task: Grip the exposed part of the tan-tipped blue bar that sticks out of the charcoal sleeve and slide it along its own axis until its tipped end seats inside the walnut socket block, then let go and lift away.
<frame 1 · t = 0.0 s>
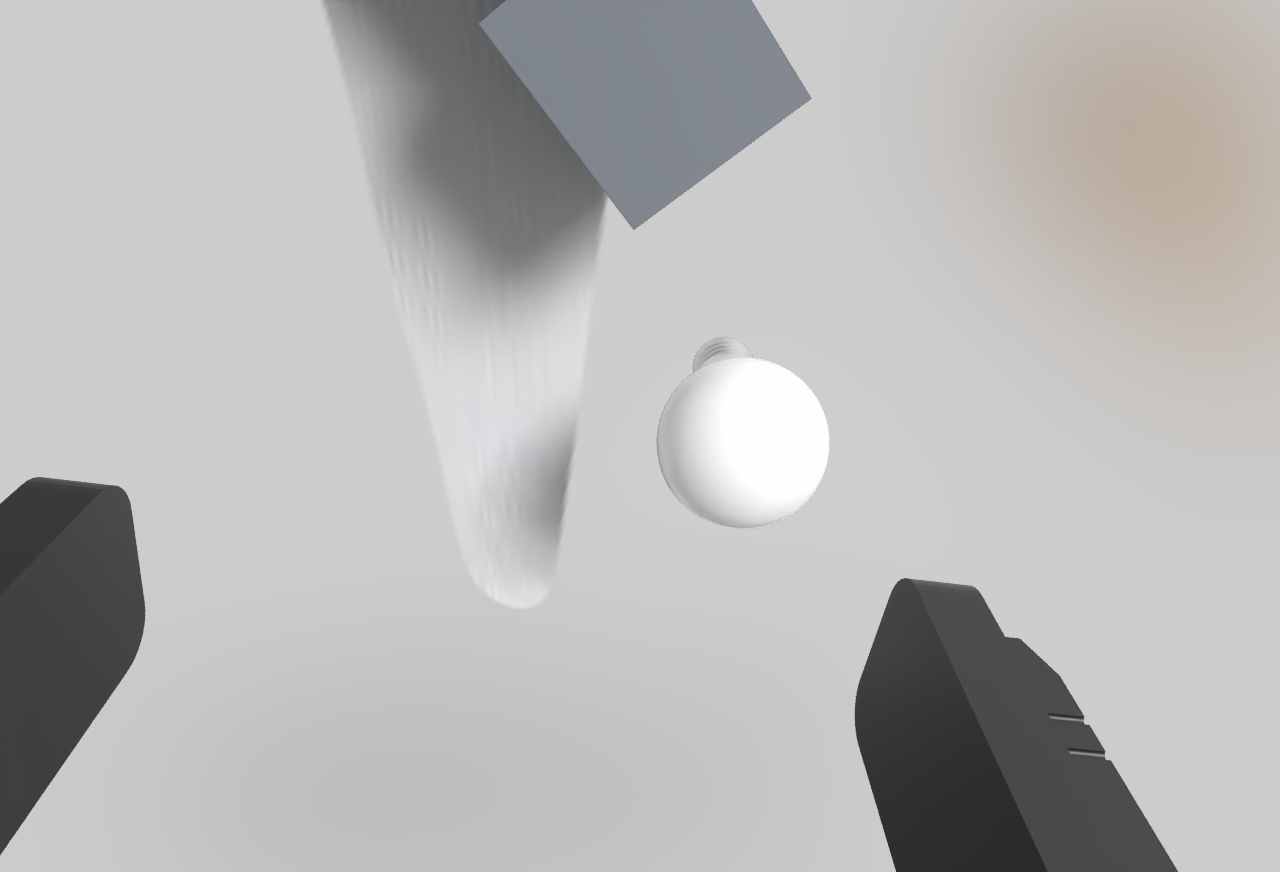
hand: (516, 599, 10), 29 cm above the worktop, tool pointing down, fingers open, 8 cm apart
sleeve: (637, 32, 34), on the worktop
lightbulb: (721, 357, 40), on the worktop
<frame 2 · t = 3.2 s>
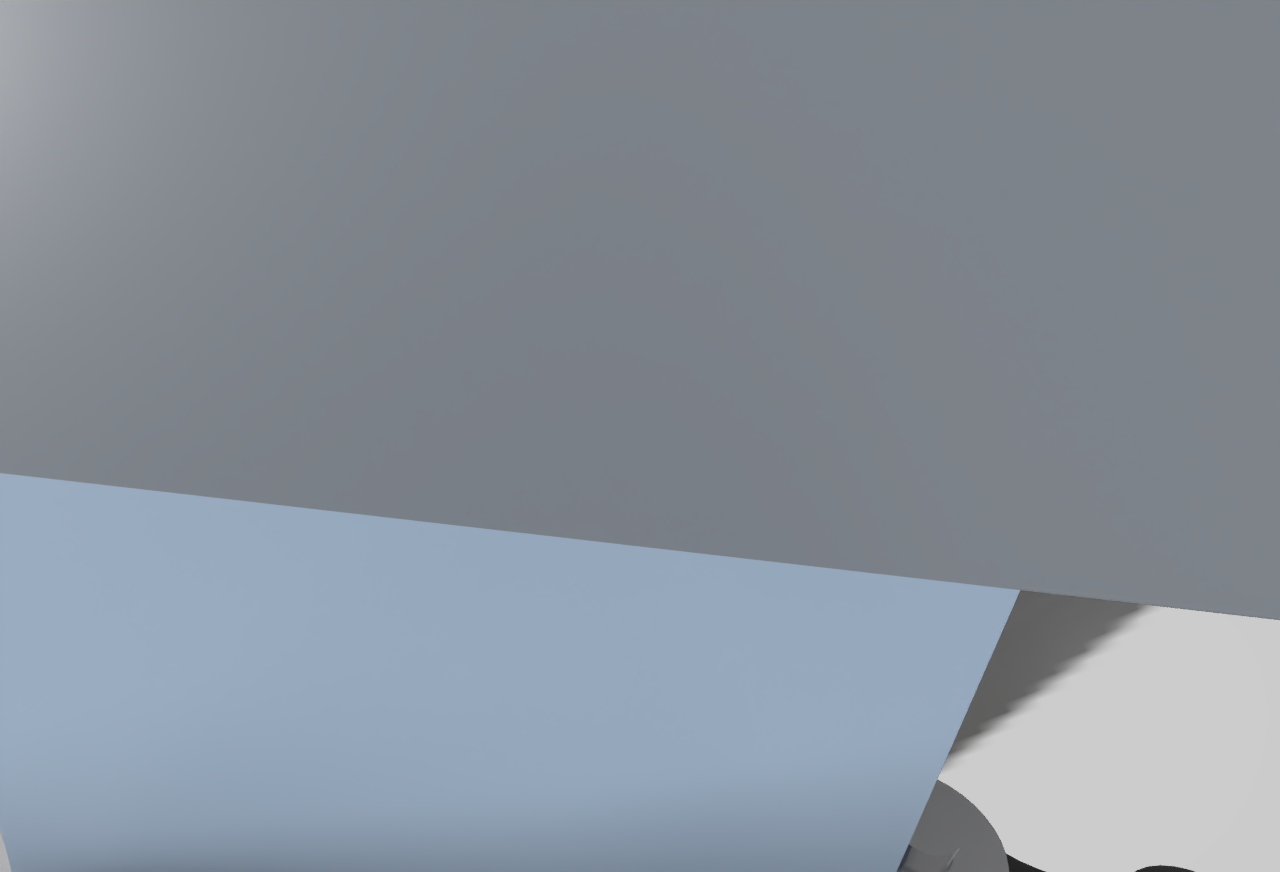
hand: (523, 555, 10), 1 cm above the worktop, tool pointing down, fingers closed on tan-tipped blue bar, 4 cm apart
tan-tipped blue bar: (537, 362, 7), point 3 cm above the worktop, slide at 0.0 cm, touching gripper
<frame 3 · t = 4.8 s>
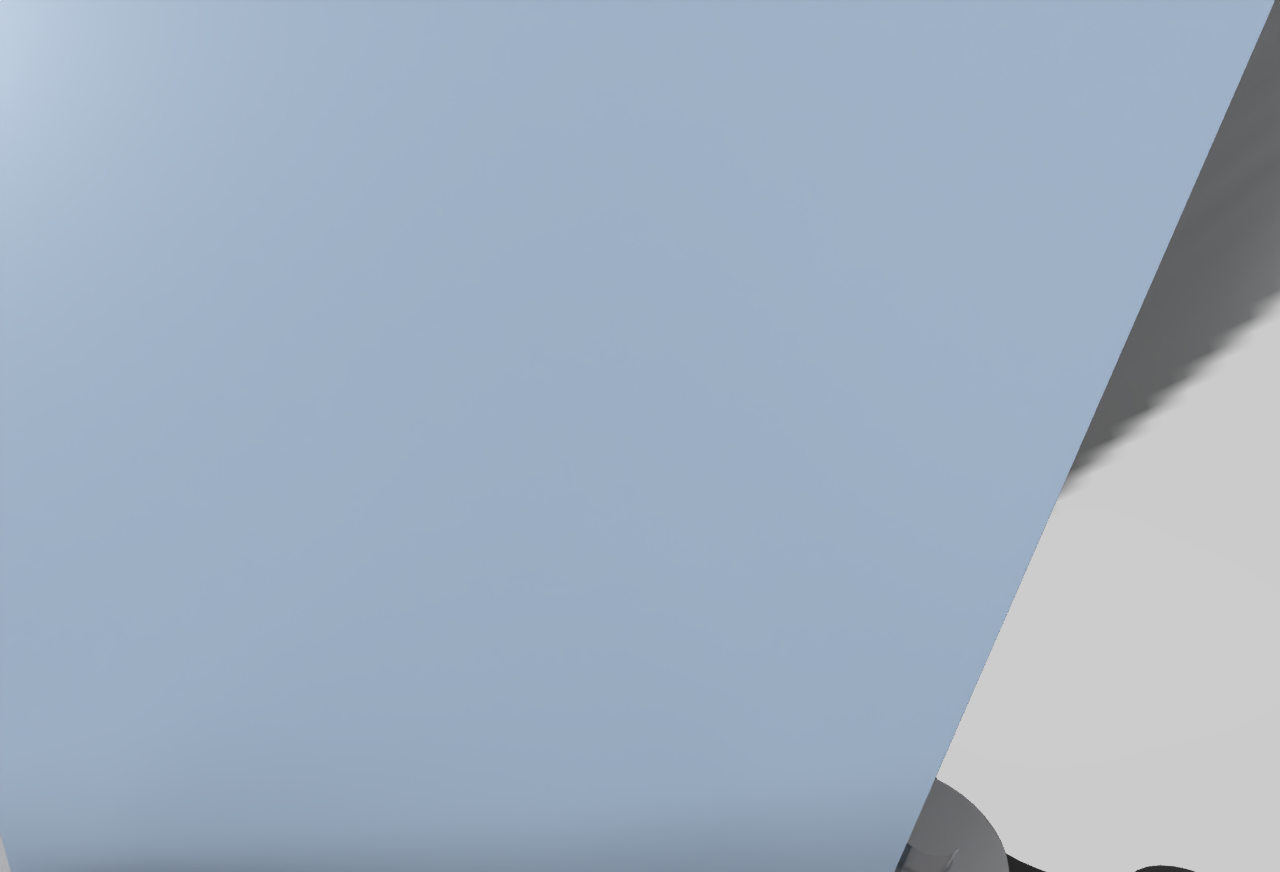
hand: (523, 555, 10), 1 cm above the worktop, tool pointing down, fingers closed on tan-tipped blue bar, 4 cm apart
tan-tipped blue bar: (536, 361, 7), point 3 cm above the worktop, slide at 4.9 cm, touching gripper
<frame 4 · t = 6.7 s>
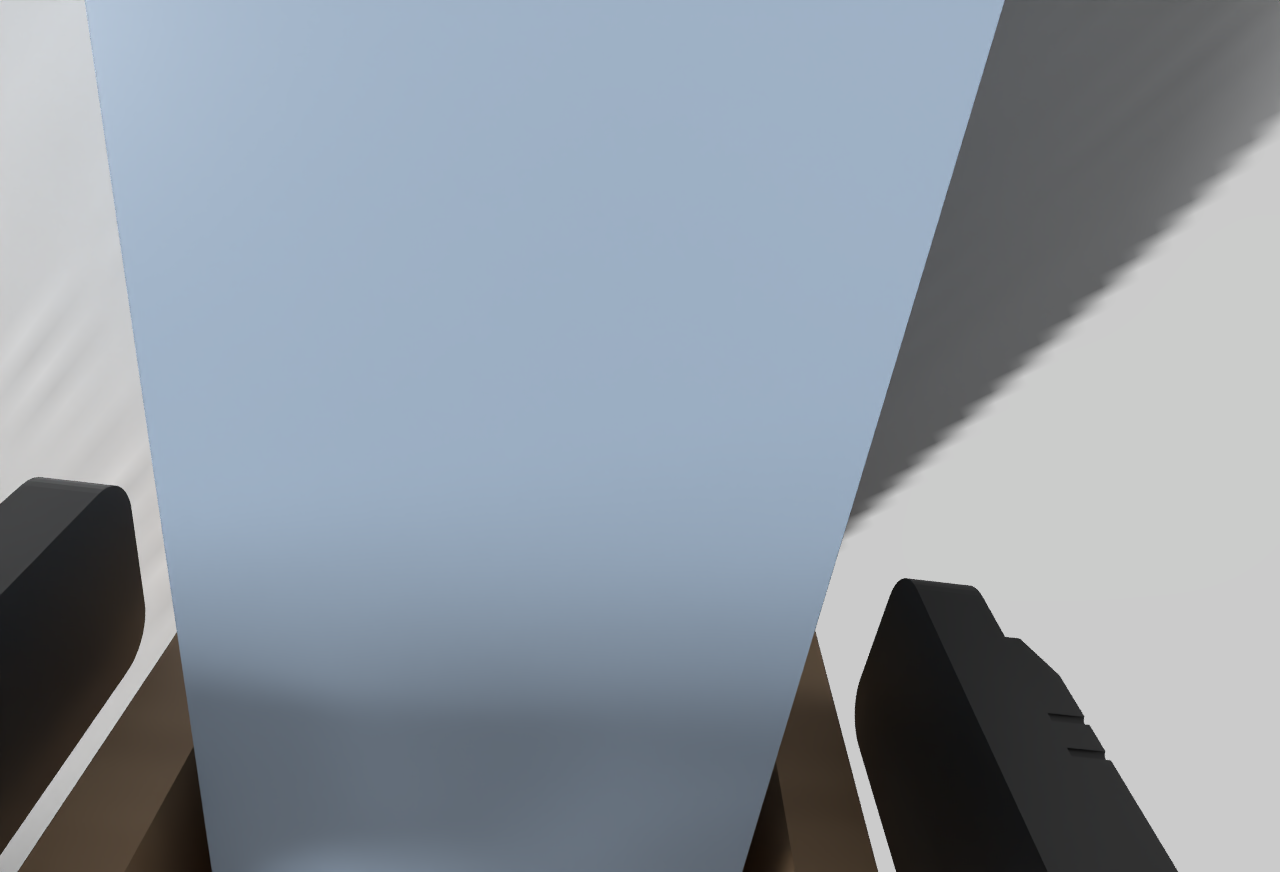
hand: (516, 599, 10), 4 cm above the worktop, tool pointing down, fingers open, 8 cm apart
socket: (531, 597, 14), on the worktop
tan-tipped blue bar: (558, 204, 8), point 3 cm above the worktop, slide at 4.9 cm
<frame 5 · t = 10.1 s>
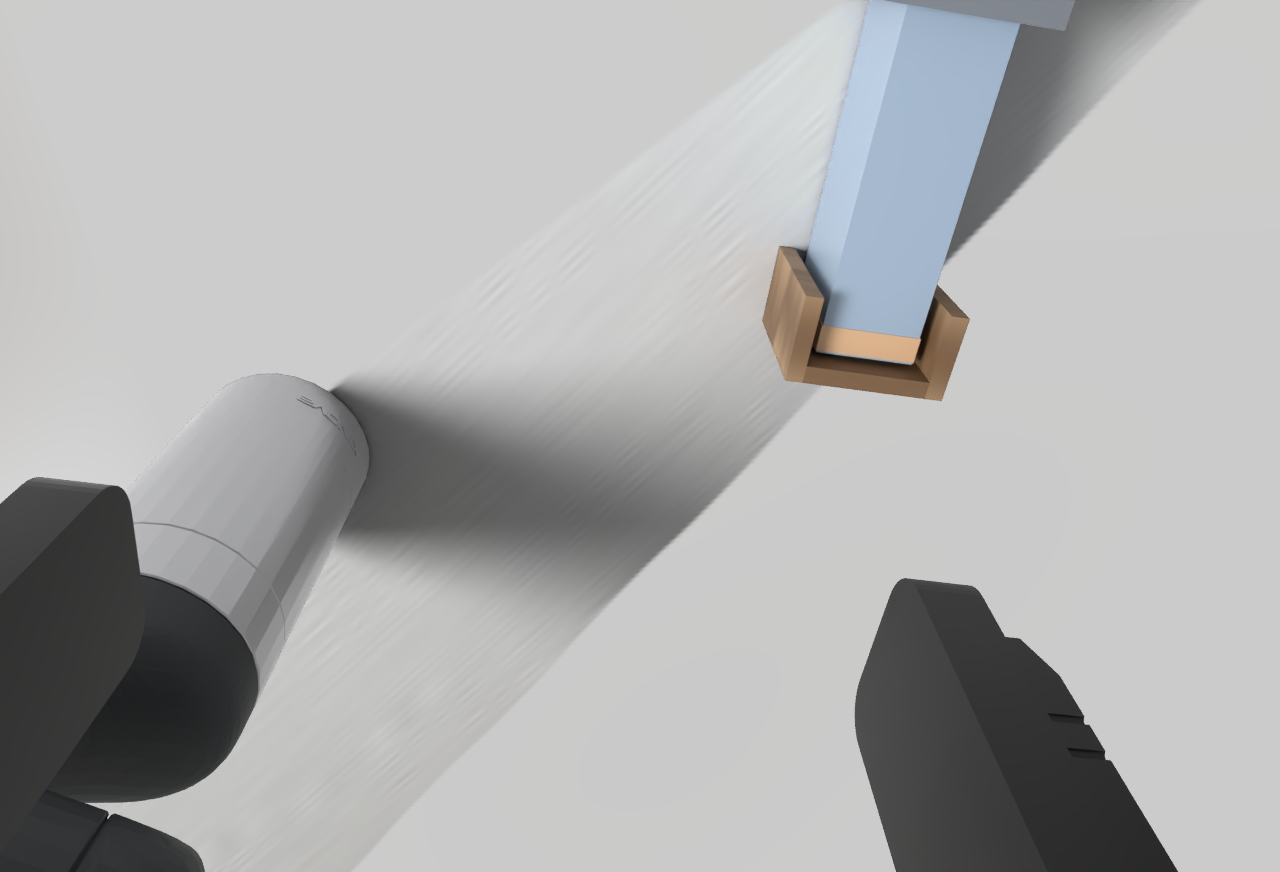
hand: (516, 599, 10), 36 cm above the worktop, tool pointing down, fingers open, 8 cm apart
socket: (840, 293, 46), on the worktop
tan-tipped blue bar: (895, 167, 40), point 3 cm above the worktop, slide at 4.9 cm
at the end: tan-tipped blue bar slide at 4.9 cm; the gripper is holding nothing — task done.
